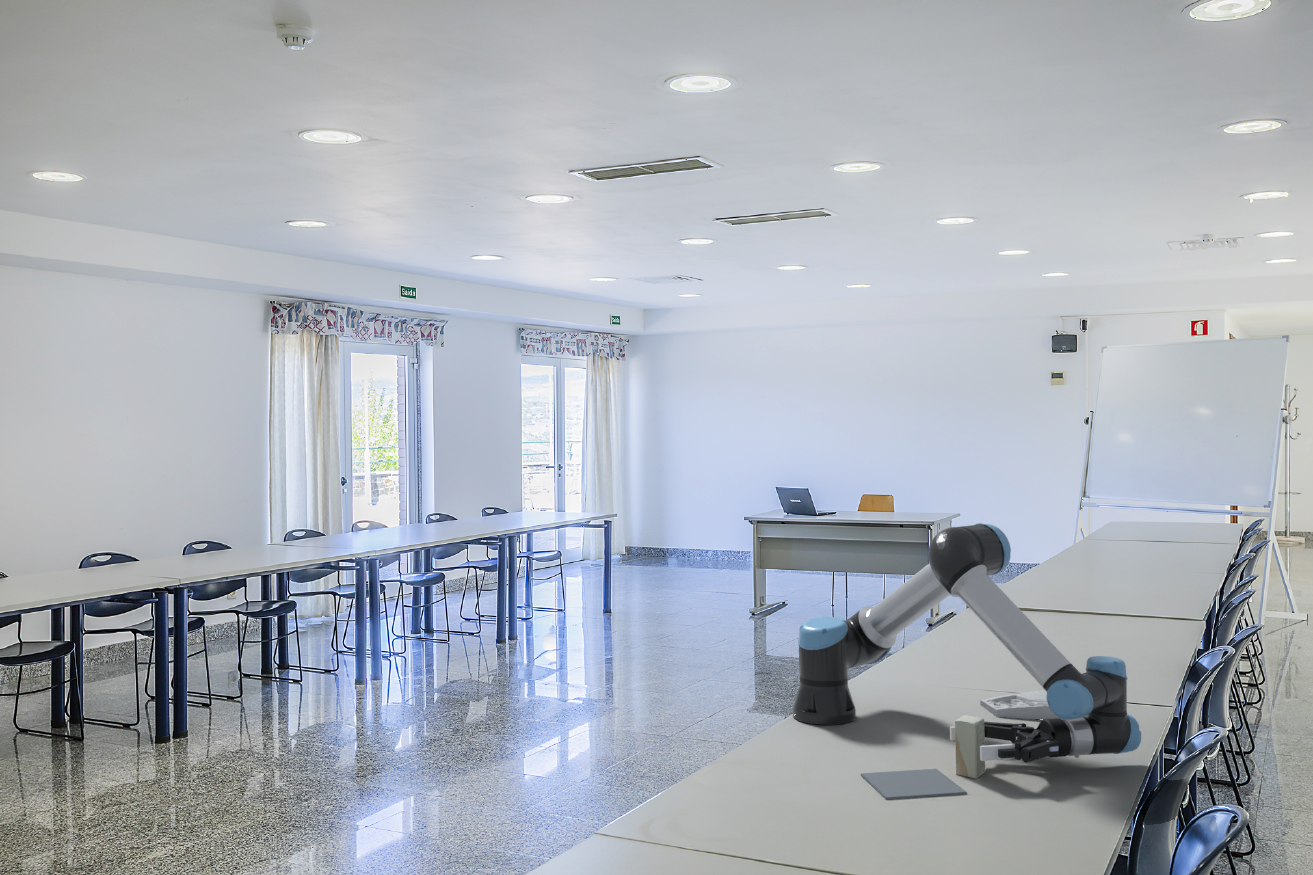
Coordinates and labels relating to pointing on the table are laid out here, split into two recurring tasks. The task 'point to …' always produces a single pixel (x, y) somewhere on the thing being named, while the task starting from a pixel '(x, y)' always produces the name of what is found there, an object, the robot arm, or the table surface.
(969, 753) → the box
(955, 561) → the robot arm
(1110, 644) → the table surface
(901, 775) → the mat
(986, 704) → the ramp
